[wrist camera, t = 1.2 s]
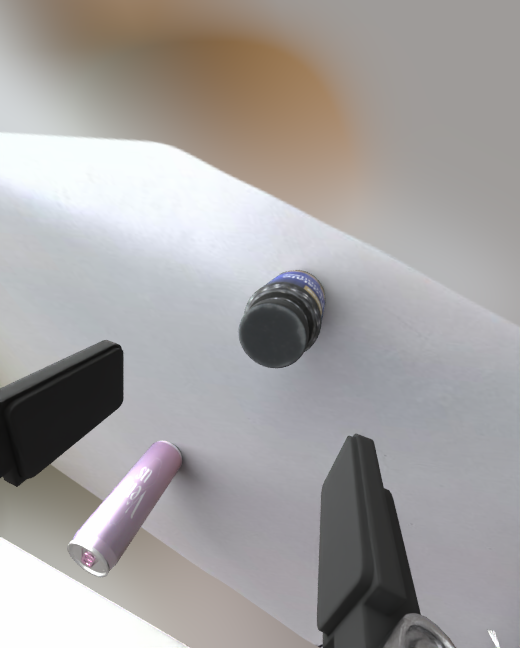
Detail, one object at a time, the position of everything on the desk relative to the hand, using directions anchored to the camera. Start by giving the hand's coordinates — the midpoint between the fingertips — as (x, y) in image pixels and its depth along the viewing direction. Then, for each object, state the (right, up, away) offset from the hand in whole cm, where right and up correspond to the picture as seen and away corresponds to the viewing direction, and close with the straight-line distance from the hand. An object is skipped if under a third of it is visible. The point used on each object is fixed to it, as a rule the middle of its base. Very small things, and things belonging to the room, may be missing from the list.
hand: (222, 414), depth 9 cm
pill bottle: (+5, +6, +17) cm, 19 cm away
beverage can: (-14, -18, +32) cm, 39 cm away
